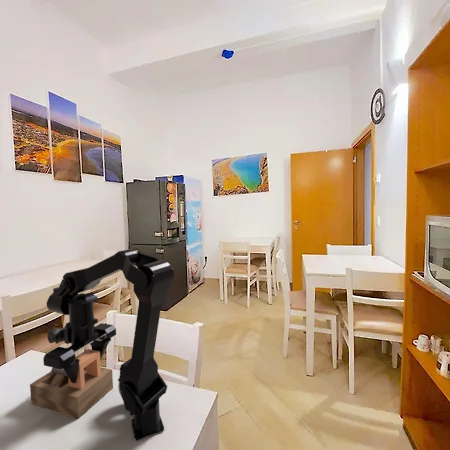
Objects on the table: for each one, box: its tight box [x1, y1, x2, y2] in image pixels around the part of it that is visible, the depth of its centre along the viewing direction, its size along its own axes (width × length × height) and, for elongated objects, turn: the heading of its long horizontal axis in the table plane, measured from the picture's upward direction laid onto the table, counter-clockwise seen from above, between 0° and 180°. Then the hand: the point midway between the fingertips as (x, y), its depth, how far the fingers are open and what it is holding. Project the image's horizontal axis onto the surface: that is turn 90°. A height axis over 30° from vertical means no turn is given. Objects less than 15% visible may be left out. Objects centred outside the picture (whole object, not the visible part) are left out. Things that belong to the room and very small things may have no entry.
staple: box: [69, 348, 102, 389], centre depth 75 cm, size 7×4×6 cm, turn 161°
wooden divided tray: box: [29, 366, 114, 420], centre depth 77 cm, size 16×12×7 cm
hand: (85, 374), depth 75 cm, fingers open, 7 cm apart
